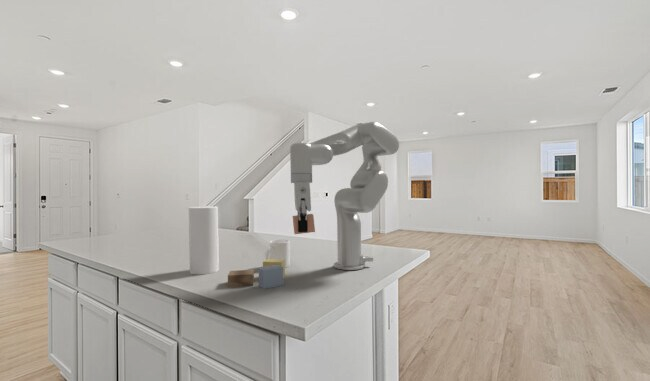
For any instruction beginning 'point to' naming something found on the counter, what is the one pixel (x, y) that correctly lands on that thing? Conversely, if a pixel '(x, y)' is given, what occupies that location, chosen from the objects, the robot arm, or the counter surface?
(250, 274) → the walnut block
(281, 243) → the mug
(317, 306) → the counter surface
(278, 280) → the slate brick
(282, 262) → the mustard brick
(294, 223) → the terracotta brick
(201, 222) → the tall pillar cylinder
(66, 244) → the counter surface
